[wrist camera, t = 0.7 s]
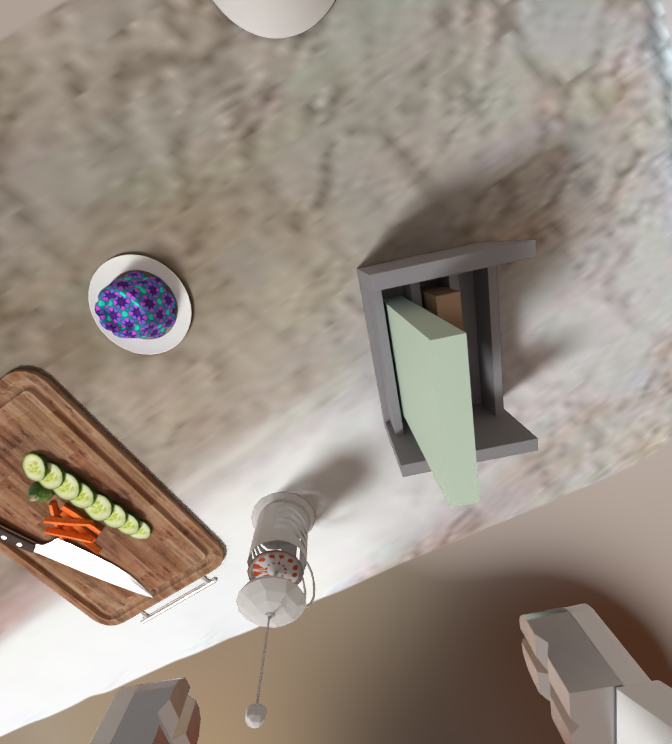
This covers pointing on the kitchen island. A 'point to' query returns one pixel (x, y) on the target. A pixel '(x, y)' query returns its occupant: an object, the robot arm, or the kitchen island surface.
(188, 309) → the pudding
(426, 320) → the tall panel
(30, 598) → the kitchen island surface
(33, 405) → the chopping board
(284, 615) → the french press
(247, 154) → the kitchen island surface
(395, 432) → the rack
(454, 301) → the offcut walnut
